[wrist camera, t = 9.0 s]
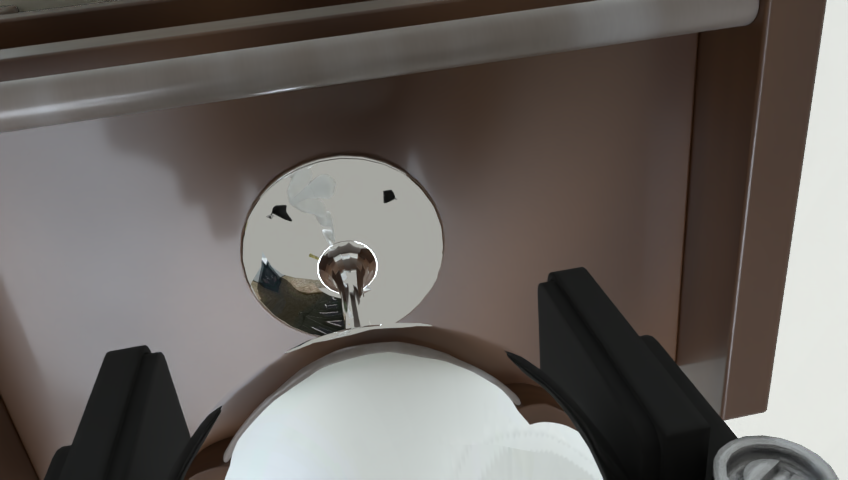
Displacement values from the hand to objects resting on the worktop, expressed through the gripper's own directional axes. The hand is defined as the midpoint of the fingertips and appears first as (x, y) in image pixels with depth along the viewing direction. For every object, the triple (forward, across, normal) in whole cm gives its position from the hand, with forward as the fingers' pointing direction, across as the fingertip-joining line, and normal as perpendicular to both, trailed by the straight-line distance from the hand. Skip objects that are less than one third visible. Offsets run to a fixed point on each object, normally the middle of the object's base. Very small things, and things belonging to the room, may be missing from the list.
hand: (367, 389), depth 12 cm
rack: (+14, 0, 0) cm, 14 cm away
